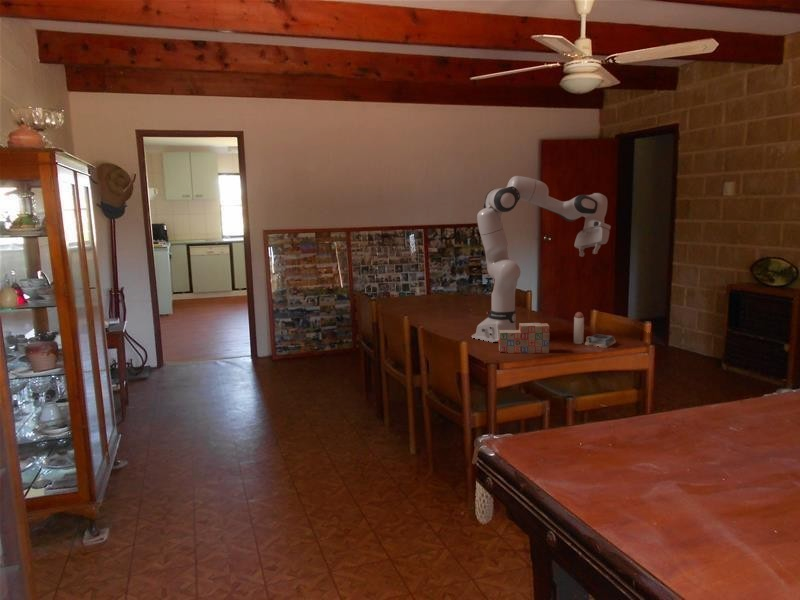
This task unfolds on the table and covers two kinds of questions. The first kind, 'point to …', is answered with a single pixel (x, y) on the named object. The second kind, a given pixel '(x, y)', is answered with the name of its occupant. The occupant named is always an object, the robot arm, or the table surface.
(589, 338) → the jig
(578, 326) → the fuselage
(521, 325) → the stack of blocks
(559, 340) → the table surface
